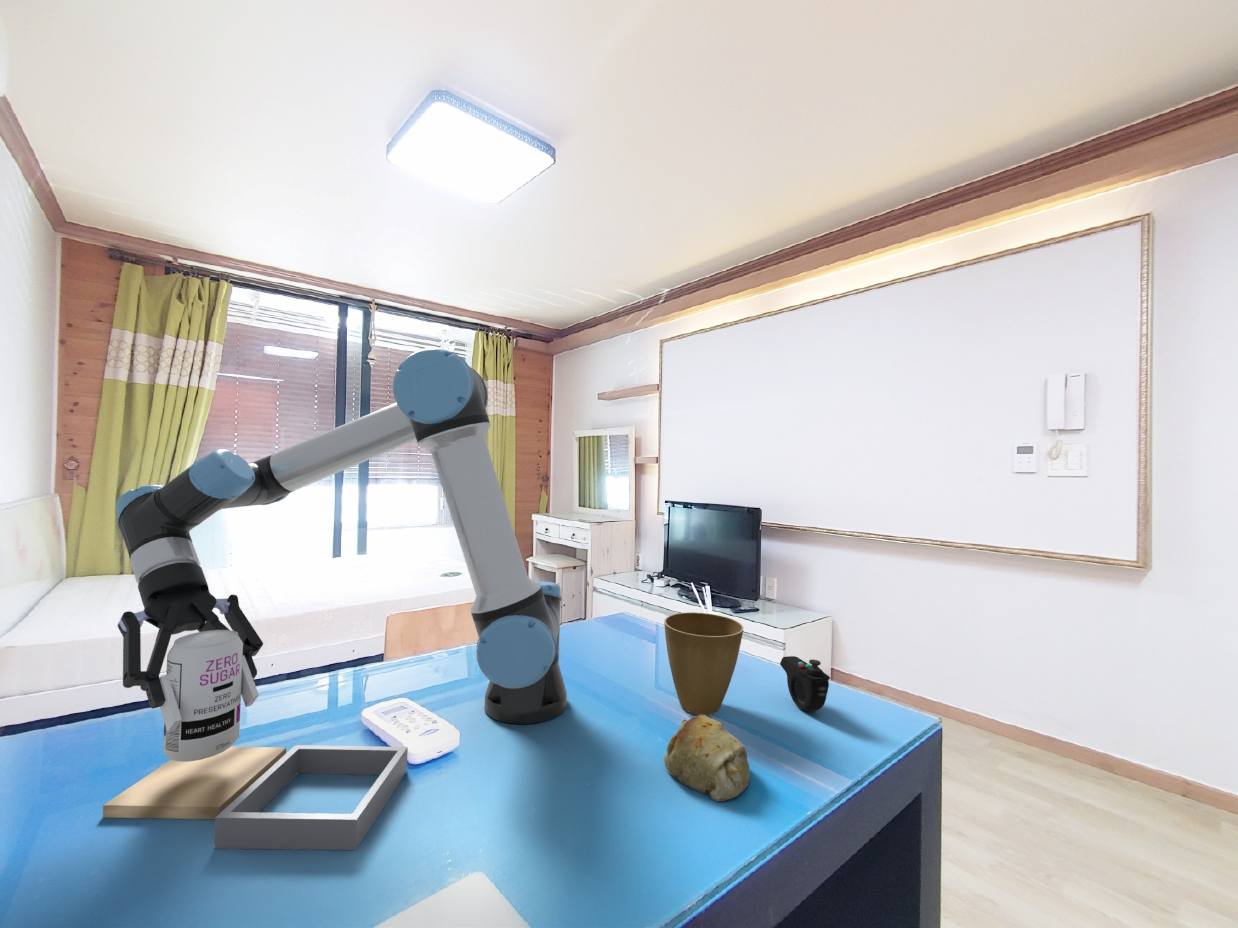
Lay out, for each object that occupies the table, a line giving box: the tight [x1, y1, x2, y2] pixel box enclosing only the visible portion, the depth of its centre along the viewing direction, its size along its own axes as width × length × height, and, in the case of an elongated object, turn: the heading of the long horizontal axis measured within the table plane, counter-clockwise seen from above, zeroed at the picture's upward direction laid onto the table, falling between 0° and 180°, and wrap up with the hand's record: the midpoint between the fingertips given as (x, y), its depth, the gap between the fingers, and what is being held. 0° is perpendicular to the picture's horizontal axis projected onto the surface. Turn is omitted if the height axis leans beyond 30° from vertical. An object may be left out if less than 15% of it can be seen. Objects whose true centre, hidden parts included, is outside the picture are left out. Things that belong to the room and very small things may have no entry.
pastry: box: [663, 714, 751, 802], centre depth 80 cm, size 14×12×8 cm
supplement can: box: [162, 629, 243, 762], centre depth 73 cm, size 8×8×15 cm
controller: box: [779, 655, 831, 712], centre depth 104 cm, size 4×12×10 cm, turn 13°
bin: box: [213, 744, 409, 851], centre depth 70 cm, size 16×16×4 cm
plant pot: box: [663, 611, 744, 716], centre depth 102 cm, size 15×15×16 cm
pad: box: [102, 746, 287, 820], centre depth 73 cm, size 14×14×2 cm
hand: (215, 712), depth 71 cm, fingers closed on supplement can, 8 cm apart
